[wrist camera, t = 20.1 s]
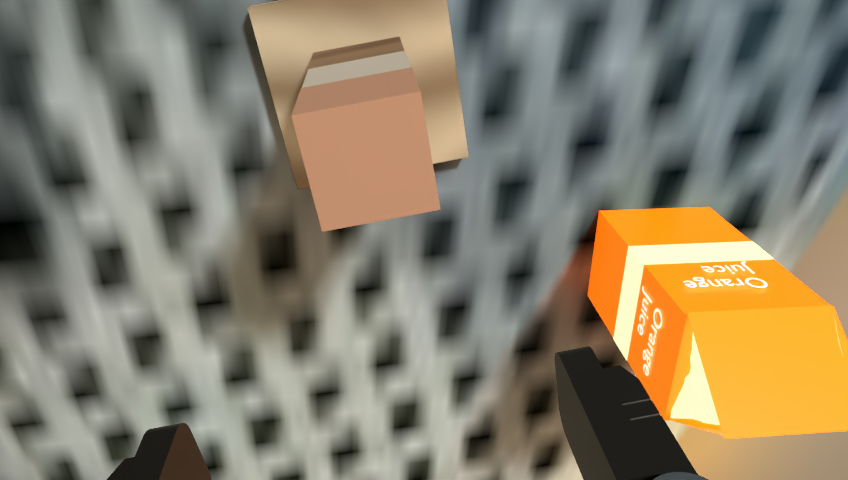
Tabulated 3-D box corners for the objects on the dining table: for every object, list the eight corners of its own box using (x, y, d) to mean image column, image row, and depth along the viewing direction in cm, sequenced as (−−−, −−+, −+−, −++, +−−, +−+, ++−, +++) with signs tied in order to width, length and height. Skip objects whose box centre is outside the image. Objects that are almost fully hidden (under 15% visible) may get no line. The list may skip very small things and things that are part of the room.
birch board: (250, 5, 40) (247, 8, 39) (440, -30, 40) (442, -29, 39) (299, 183, 45) (297, 189, 44) (465, 151, 45) (468, 157, 44)
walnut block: (313, 52, 40) (307, 68, 36) (399, 36, 40) (404, 50, 36) (333, 135, 43) (330, 160, 38) (414, 120, 43) (420, 143, 38)
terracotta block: (301, 88, 31) (291, 115, 27) (411, 67, 31) (420, 91, 27) (327, 190, 34) (322, 231, 29) (429, 171, 34) (440, 209, 29)
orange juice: (691, 292, 52) (862, 482, 35) (586, 296, 52) (705, 494, 34) (710, 204, 49) (911, 366, 31) (598, 208, 48) (738, 376, 30)
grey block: (308, 69, 36) (301, 89, 31) (405, 50, 36) (411, 68, 31) (331, 160, 38) (327, 192, 34) (421, 143, 38) (429, 172, 34)
